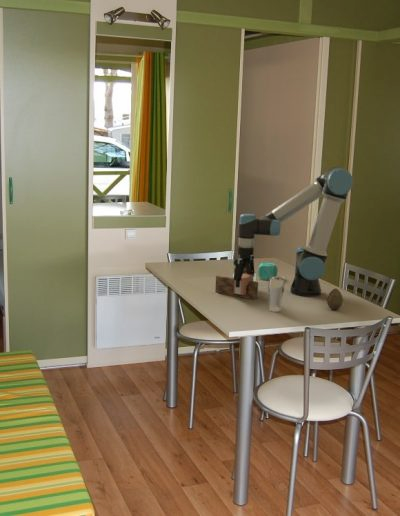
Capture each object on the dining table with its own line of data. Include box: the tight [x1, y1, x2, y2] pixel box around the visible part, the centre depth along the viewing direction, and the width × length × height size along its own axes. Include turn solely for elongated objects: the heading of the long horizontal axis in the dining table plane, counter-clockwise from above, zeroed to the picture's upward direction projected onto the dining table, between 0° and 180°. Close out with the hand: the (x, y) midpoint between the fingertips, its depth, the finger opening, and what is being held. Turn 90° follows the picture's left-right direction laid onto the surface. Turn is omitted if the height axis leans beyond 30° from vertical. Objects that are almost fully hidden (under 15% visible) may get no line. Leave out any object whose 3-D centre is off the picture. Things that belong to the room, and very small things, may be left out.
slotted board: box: [214, 274, 259, 300], centre depth 335 cm, size 22×2×8 cm, turn 59°
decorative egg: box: [326, 288, 344, 311], centre depth 315 cm, size 7×7×10 cm
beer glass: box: [267, 276, 285, 313], centre depth 309 cm, size 7×7×15 cm
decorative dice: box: [257, 262, 279, 281], centre depth 373 cm, size 8×8×8 cm
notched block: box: [234, 273, 254, 295], centre depth 332 cm, size 10×5×8 cm, turn 149°
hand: (243, 291), depth 333 cm, fingers closed on notched block, 10 cm apart
